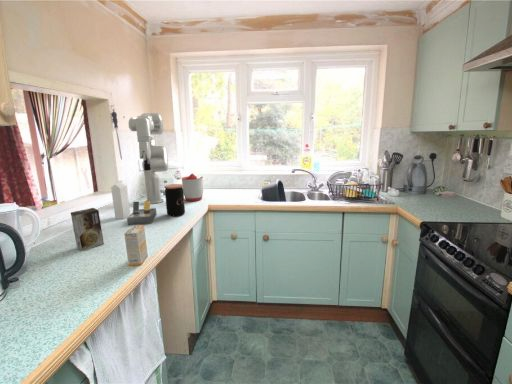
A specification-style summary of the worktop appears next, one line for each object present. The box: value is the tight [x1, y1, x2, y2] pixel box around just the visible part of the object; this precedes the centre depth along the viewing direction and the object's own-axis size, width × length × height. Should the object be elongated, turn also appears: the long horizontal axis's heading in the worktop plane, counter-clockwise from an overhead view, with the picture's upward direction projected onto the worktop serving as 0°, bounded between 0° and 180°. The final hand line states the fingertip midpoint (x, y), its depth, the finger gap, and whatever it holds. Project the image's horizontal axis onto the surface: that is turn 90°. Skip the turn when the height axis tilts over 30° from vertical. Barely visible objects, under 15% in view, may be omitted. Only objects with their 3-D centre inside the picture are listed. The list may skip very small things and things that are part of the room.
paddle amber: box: [143, 200, 151, 213], centre depth 155 cm, size 2×3×7 cm, turn 101°
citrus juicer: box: [181, 173, 204, 202], centre depth 200 cm, size 16×17×20 cm
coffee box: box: [70, 207, 105, 252], centre depth 116 cm, size 9×6×16 cm
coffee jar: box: [164, 183, 186, 218], centre depth 162 cm, size 11×11×18 cm
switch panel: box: [126, 207, 158, 226], centre depth 154 cm, size 18×12×4 cm, turn 11°
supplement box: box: [124, 224, 148, 267], centre depth 101 cm, size 8×5×13 cm, turn 5°
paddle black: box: [132, 201, 140, 213], centre depth 154 cm, size 2×3×7 cm, turn 101°
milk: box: [110, 180, 131, 220], centre depth 157 cm, size 6×6×22 cm
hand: (147, 170), depth 163 cm, fingers closed
